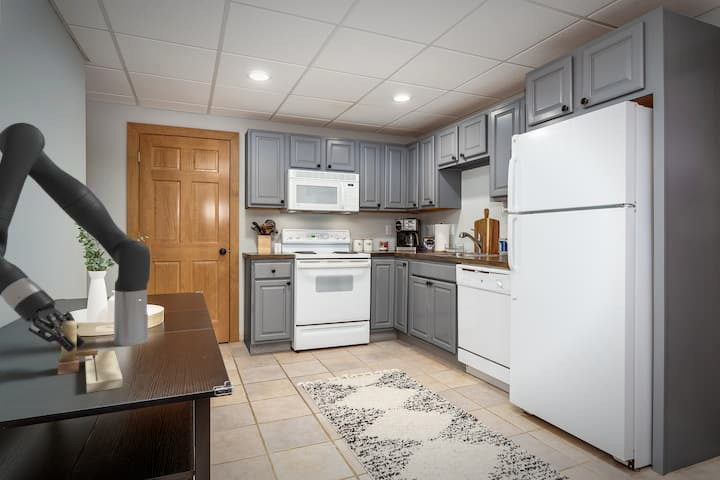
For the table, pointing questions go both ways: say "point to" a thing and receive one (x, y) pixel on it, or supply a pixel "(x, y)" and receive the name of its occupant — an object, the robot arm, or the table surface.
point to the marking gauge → (71, 359)
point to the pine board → (102, 372)
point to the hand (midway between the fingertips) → (77, 346)
